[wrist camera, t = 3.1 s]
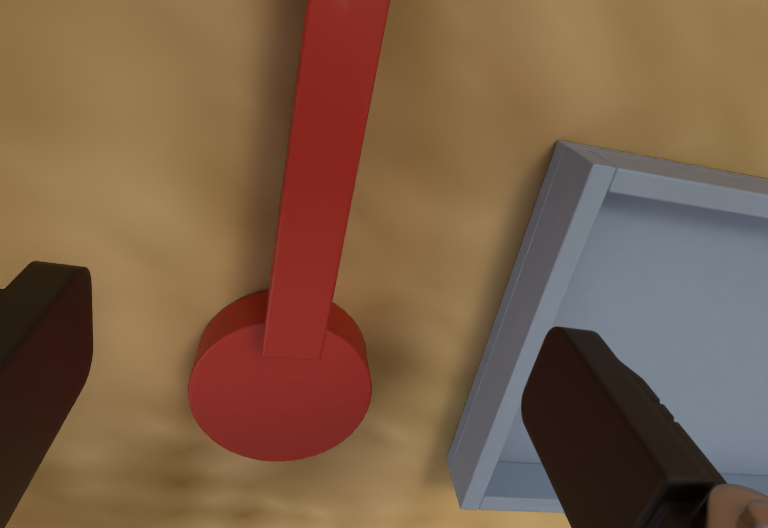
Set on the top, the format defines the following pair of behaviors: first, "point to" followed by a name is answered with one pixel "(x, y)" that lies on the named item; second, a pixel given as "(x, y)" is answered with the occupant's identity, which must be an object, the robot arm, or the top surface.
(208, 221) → the top surface
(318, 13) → the red spoon
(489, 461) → the blue tray
